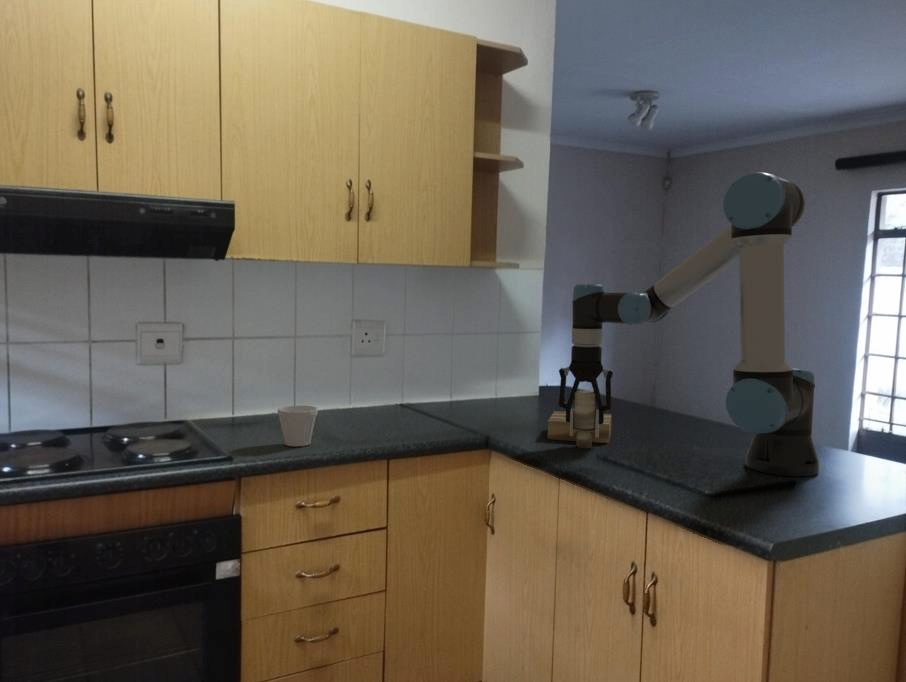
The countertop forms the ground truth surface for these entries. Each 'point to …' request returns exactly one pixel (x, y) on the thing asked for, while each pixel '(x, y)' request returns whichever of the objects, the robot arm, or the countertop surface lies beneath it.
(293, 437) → the cup
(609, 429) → the block
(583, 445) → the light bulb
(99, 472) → the countertop surface
